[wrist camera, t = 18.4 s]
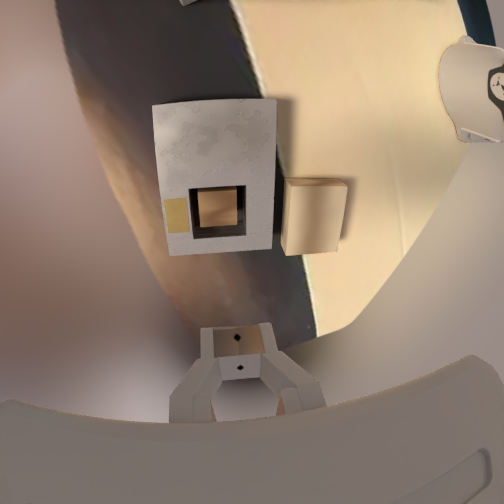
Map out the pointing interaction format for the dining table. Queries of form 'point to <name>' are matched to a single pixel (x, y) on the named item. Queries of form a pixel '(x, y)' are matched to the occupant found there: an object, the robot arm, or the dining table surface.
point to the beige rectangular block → (312, 215)
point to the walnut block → (217, 206)
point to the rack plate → (216, 169)
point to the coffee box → (186, 2)
